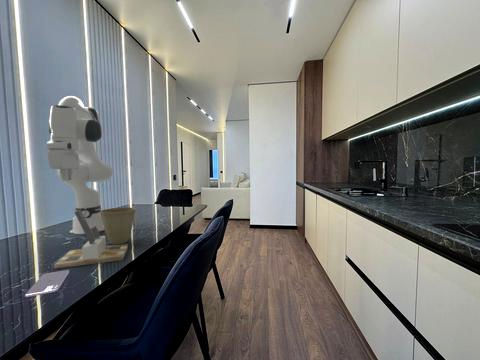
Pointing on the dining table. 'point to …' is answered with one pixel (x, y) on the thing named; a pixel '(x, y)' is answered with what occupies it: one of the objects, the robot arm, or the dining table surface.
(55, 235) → the dining table surface
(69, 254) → the base
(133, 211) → the plant pot
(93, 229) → the aux switch
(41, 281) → the mobile phone
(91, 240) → the main switch
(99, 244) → the switch housing
